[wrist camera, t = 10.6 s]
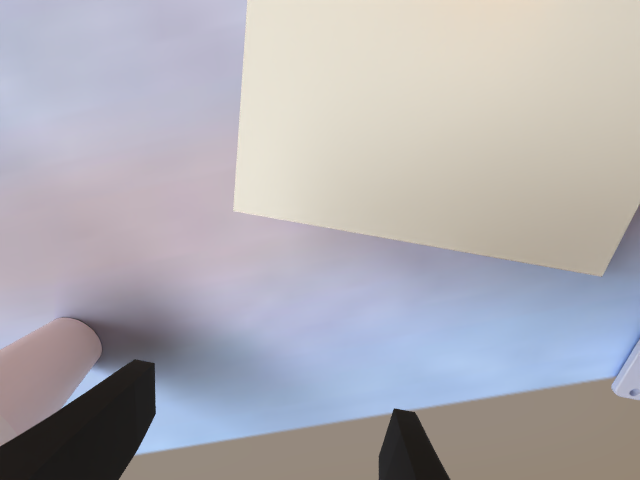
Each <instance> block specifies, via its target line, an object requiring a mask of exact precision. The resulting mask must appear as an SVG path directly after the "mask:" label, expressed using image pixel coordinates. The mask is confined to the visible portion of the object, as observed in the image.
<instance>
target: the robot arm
mask: <svg viewBox="0 0 640 480" xmlns="http://www.w3.org/2000/svg"><path fill="white" fill-rule="evenodd" d="M632 389H633V390H632ZM612 390H613V391H614V392H615V393H616V394H617V395H618V396H620V397H625V398H630V399H636V400H640V339H639V341H638V343H637V344H636V346H635V348H634V349H633V351H632V353H631V354H630V356H629V358H628V359H627V361H626V363H625V364H624V366H623V367H622V369H621V371H620V372H619V374H618V376H617V377H616V379H615V381H614V382H613V384H612ZM155 414H156V406H155V366H154V363H151V362H146V361H140V360H133V361H131V362H130V363H128V364H127V365H125V366H124V367H122V368H121V369H119V370H118V371H117V372H115V373H114V374H112V375H111V376H109V377H108V378H106V379H105V380H103V381H102V382H100V383H99V384H98V385H96V386H95V387H93V388H92V389H90V390H89V391H87V392H86V393H84V394H83V395H81V396H80V397H78V398H77V399H75V400H74V401H72V402H71V403H69V404H68V405H66V406H65V407H63V408H62V409H60V410H59V411H57V412H55V413H54V414H52V415H51V416H49V417H48V418H46V419H44V420H43V421H41V422H39V423H38V424H36V425H35V426H33V427H31V428H30V429H28V430H26V431H25V432H23V433H22V434H20V435H18V436H17V437H15V438H13V439H12V440H10V441H8V442H7V443H5V444H3V445H1V446H0V480H119V478H120V477H121V475H122V473H123V472H124V470H125V469H126V467H127V466H128V464H129V463H130V461H131V459H132V458H133V456H134V455H135V453H136V451H137V450H138V448H139V446H140V444H141V442H142V440H143V438H144V436H145V435H146V433H147V431H148V428H149V426H150V424H151V422H152V420H153V418H154V416H155ZM379 480H450V478H449V476H448V475H447V473H446V471H445V469H444V467H443V465H442V464H441V462H440V460H439V458H438V456H437V454H436V452H435V450H434V449H433V446H432V445H431V443H430V441H429V439H428V437H427V435H426V433H425V431H424V429H423V427H422V425H421V422H420V420H419V418H418V417H417V415H416V413H415V412H411V411H405V410H400V409H395V408H394V410H393V413H392V416H391V420H390V423H389V426H388V429H387V432H386V436H385V439H384V442H383V445H382V448H381V451H380V454H379Z"/></svg>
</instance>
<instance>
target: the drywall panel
mask: <svg viewBox="0 0 640 480" xmlns="http://www.w3.org/2000/svg"><path fill="white" fill-rule="evenodd" d="M639 204H640V0H247V15H246V30H245V45H244V60H243V75H242V89H241V104H240V119H239V134H238V149H237V164H236V178H235V193H234V208H233V211H236V212H241V213H247V214H253V215H258V216H264V217H269V218H275V219H281V220H286V221H292V222H298V223H303V224H309V225H314V226H320V227H326V228H331V229H337V230H343V231H348V232H354V233H359V234H365V235H371V236H376V237H382V238H387V239H393V240H399V241H404V242H410V243H416V244H421V245H427V246H432V247H438V248H444V249H449V250H455V251H461V252H466V253H472V254H477V255H483V256H489V257H494V258H500V259H506V260H511V261H517V262H522V263H528V264H534V265H539V266H545V267H550V268H556V269H562V270H567V271H573V272H579V273H584V274H590V275H595V276H601V277H602V276H603V274H604V272H605V270H606V268H607V266H608V264H609V262H610V260H611V258H612V256H613V254H614V253H615V251H616V249H617V247H618V245H619V243H620V241H621V239H622V237H623V235H624V233H625V231H626V229H627V227H628V225H629V223H630V222H631V220H632V218H633V216H634V214H635V212H636V210H637V208H638V206H639Z"/></svg>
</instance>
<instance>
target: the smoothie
mask: <svg viewBox="0 0 640 480" xmlns="http://www.w3.org/2000/svg"><path fill="white" fill-rule="evenodd" d="M101 353H102V346H101V342H100V340H99V338H98V336H97V335H96V333H95V332H94V331H93V330H92V329H91V328H90V327H89V326H87V325H86V324H84V323H83V322H81V321H78V320H76V319H72V318H58V319H55V320H53V321H51V322H49V323H48V324H46V325H44V326H42V327H40V328H39V329H37V330H35V331H33V332H31V333H30V334H28V335H26V336H24V337H22V338H21V339H19V340H17V341H15V342H13V343H12V344H10V345H8V346H6V347H4V348H3V349H1V350H0V446H1V445H3V444H5V443H7V442H8V441H10V440H12V439H13V438H15V437H17V436H18V435H20V434H22V433H23V432H25V431H26V430H28V429H30V428H31V427H33V426H35V425H36V424H38V423H39V422H41V421H43V420H44V419H46V418H48V417H49V416H51V415H52V414H54V413H55V412H57V411H59V410H60V409H61V408H62V407H63V405H64V404H65V403H66V401H67V400H68V399H69V397H70V396H71V395H72V393H73V392H74V391H75V389H76V388H77V387H78V385H79V384H80V383H81V382H82V380H83V379H84V378H85V376H86V375H87V374H88V372H89V371H90V370H91V368H92V367H93V366H94V364H95V363H96V362H97V360H98V359H99V358H100V356H101Z"/></svg>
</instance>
